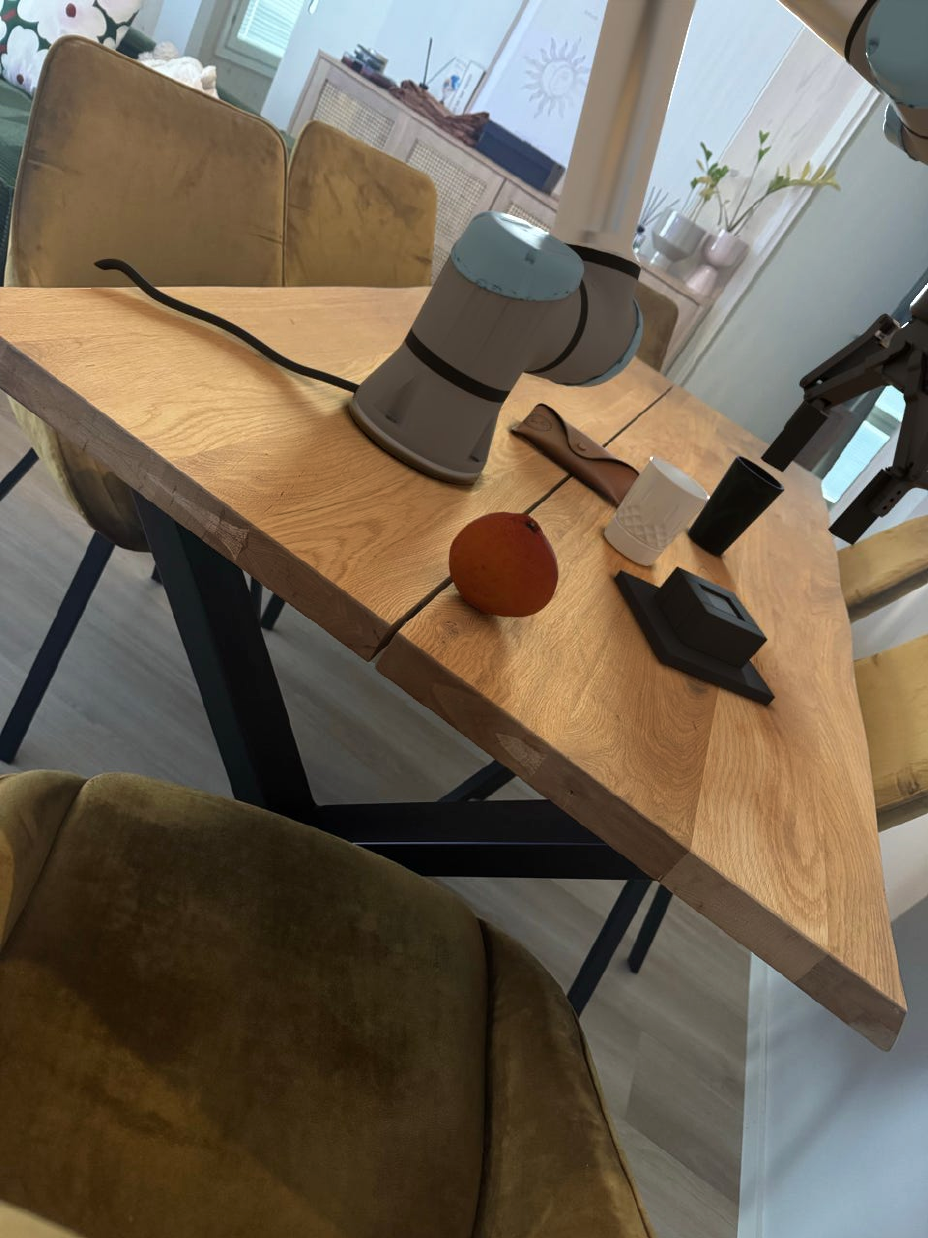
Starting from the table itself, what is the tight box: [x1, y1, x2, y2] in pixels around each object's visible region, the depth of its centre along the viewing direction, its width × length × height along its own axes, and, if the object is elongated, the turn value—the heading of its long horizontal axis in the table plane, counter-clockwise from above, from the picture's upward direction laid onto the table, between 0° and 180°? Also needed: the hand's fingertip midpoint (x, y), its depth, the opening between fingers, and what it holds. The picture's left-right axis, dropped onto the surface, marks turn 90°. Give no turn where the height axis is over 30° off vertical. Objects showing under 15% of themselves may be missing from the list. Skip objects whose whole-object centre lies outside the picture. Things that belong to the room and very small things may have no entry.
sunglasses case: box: [510, 402, 641, 506], centre depth 119 cm, size 18×7×7 cm
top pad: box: [653, 566, 768, 669], centre depth 90 cm, size 8×8×4 cm
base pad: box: [613, 569, 776, 706], centre depth 91 cm, size 14×14×5 cm
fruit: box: [448, 511, 560, 618], centre depth 71 cm, size 9×9×8 cm
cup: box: [687, 455, 785, 557], centre depth 123 cm, size 8×8×12 cm
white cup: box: [603, 456, 710, 567], centre depth 103 cm, size 8×8×10 cm
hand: (803, 499), depth 84 cm, fingers open, 13 cm apart
